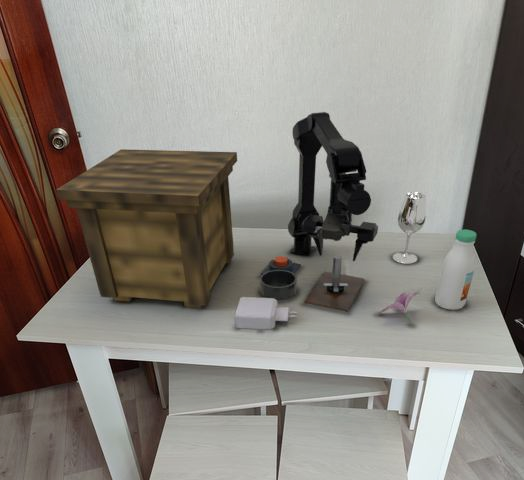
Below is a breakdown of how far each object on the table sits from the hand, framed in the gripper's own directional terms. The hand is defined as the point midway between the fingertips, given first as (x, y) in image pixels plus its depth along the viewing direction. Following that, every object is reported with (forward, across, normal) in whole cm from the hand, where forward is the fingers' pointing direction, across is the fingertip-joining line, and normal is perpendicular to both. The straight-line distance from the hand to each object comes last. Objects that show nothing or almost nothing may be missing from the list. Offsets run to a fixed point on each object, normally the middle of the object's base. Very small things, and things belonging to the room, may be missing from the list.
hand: (337, 258), depth 126 cm
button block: (+11, -19, +6) cm, 23 cm away
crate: (+11, -47, -11) cm, 49 cm away
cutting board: (+11, 0, 0) cm, 11 cm away
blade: (+10, 0, 0) cm, 10 cm away
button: (+8, -19, +6) cm, 21 cm away
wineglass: (+11, +14, +28) cm, 33 cm away
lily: (+11, +19, -6) cm, 23 cm away
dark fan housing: (+11, -15, -6) cm, 19 cm away
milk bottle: (+11, +30, +6) cm, 33 cm away
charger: (+11, -12, -20) cm, 26 cm away
